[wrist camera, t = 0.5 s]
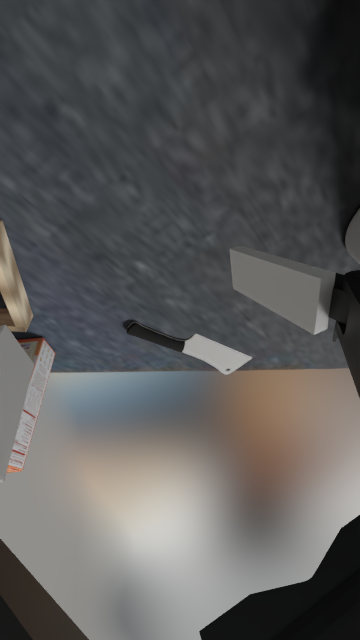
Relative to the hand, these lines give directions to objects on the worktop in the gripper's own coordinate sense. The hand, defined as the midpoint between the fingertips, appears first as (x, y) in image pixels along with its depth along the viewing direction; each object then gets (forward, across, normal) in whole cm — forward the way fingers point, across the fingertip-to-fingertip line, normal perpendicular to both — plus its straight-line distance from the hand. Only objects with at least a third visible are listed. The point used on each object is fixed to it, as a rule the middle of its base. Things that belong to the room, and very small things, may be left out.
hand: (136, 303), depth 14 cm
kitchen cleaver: (+26, +12, -25) cm, 38 cm away
